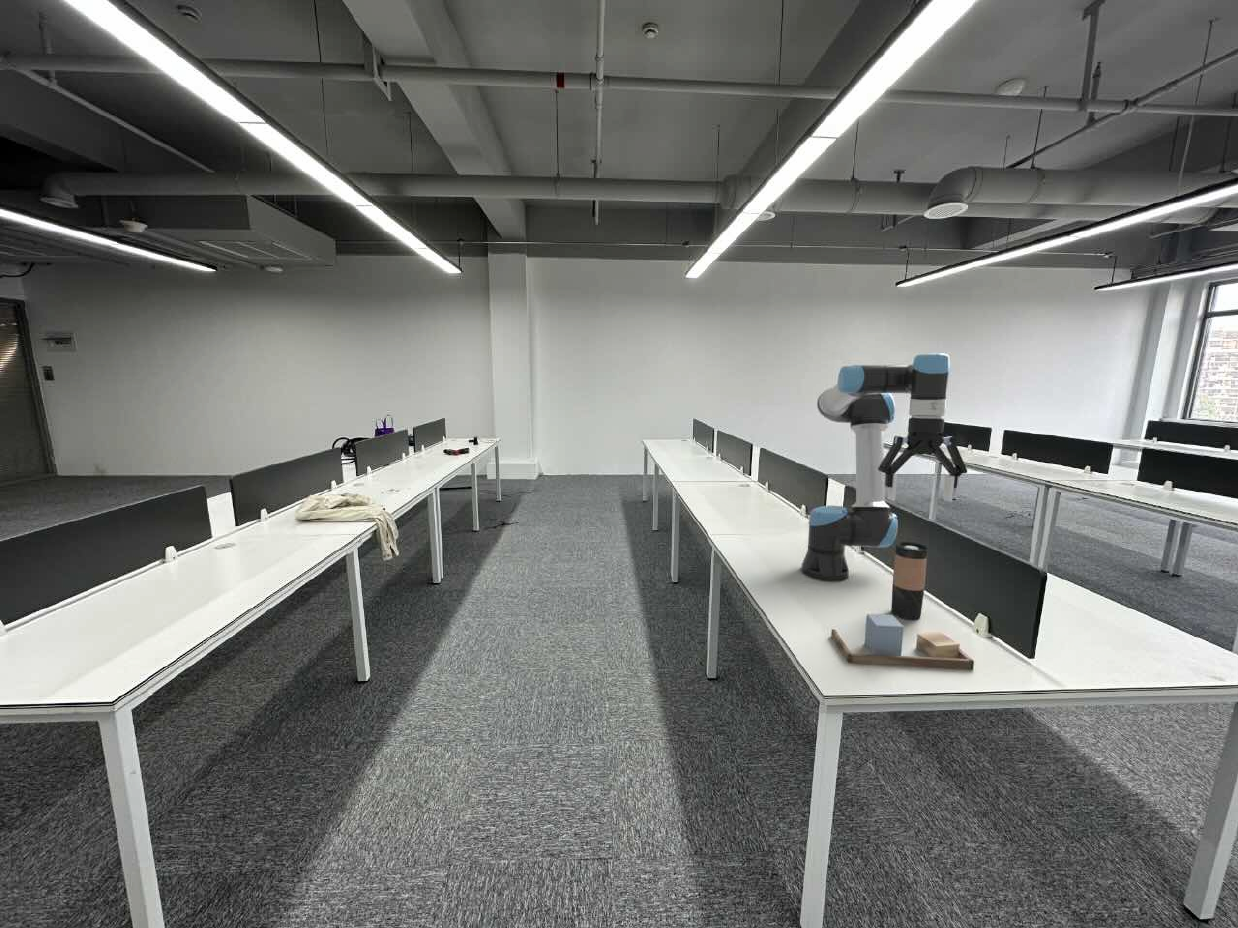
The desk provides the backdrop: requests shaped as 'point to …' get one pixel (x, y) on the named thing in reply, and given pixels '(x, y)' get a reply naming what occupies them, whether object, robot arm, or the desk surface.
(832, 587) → the desk surface
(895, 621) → the slate block
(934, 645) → the oak block
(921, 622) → the desk surface
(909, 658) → the bay
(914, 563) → the travel mug
